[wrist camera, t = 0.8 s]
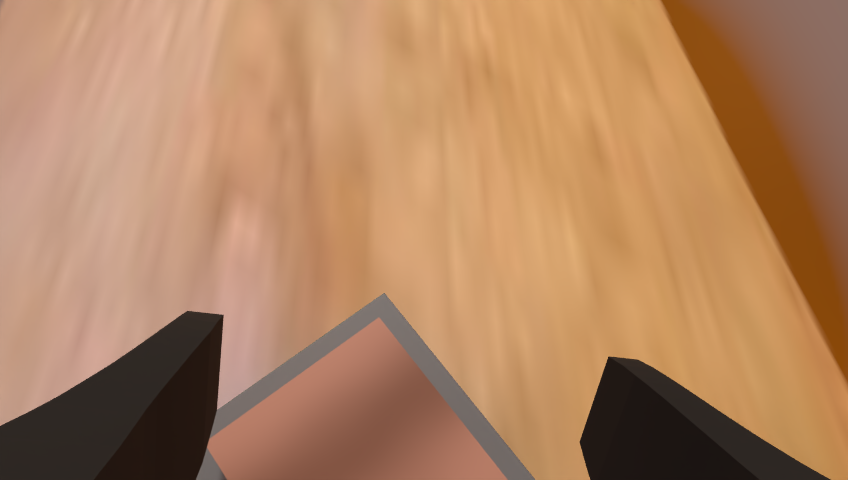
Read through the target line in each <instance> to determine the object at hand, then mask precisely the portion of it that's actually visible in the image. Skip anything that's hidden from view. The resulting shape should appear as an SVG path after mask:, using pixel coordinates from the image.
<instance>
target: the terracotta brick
mask: <svg viewBox="0 0 848 480" xmlns="http://www.w3.org/2000/svg"><path fill="white" fill-rule="evenodd" d="M207 448H208V450H209V452H210V453H211V455H212V456H213V458H214V460H215V461H216V463H217V464H218V466H219V467H220V469H221V471H222V472H223V474H224V475H225V477H226V479H227V480H508V479H507V478H506V477H505V476H504V474H503V473H502V472H501V471H500V469H499V468H498V467H497V465H496V464H495V463H494V462H493V460H492V459H491V458H490V457H489V455H488V454H487V453H486V452H485V450H484V449H483V448H482V447H481V445H480V444H479V443H478V441H477V440H476V439H475V438H474V436H473V435H472V434H471V433H470V431H469V430H468V429H467V428H466V426H465V425H464V424H463V422H462V421H461V420H460V419H459V417H458V416H457V415H456V414H455V412H454V411H453V410H452V409H451V407H450V406H449V405H448V404H447V402H446V401H445V400H444V398H443V397H442V396H441V395H440V393H439V392H438V391H437V390H436V388H435V387H434V386H433V385H432V383H431V382H430V381H429V380H428V378H427V377H426V376H425V374H424V373H423V372H422V371H421V369H420V368H419V367H418V366H417V364H416V363H415V362H414V361H413V359H412V358H411V357H410V356H409V354H408V353H407V352H406V350H405V349H404V348H403V347H402V345H401V344H400V343H399V342H398V340H397V339H396V338H395V337H394V335H393V334H392V333H391V332H390V330H389V329H388V328H387V326H386V325H385V324H384V323H383V321H382V320H381V319H380V318H377V319H376V320H374V321H373V322H372V323H370V324H369V325H367V326H366V327H365V328H363V329H362V330H360V331H359V332H358V333H356V334H355V335H354V336H352V337H351V338H349V339H348V340H347V341H345V342H344V343H342V344H341V345H340V346H338V347H337V348H335V349H334V350H333V351H331V352H330V353H328V354H327V355H326V356H324V357H323V358H321V359H320V360H319V361H317V362H316V363H314V364H313V365H312V366H310V367H309V368H307V369H306V370H305V371H303V372H302V373H300V374H299V375H298V376H296V377H295V378H294V379H292V380H291V381H289V382H288V383H287V384H285V385H284V386H282V387H281V388H280V389H278V390H277V391H275V392H274V393H273V394H271V395H270V396H268V397H267V398H266V399H264V400H263V401H261V402H260V403H259V404H257V405H256V406H254V407H253V408H252V409H250V410H249V411H247V412H246V413H245V414H243V415H242V416H240V417H239V418H238V419H236V420H235V421H234V422H232V423H231V424H229V425H228V426H227V427H225V428H224V429H222V430H221V431H220V432H218V433H217V434H215V435H214V436H213V437H211V438H210V439H209V442H208V446H207Z"/></svg>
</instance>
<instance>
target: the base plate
mask: <svg viewBox="0 0 848 480" xmlns="http://www.w3.org/2000/svg"><path fill="white" fill-rule="evenodd" d="M377 318H380V319H381V320H382V321H383V323H384V324H385V325H386V326H387V328H388V329H389V330H390V332H391V333H392V334H393V335H394V337H395V338H396V339H397V340H398V342H399V343H400V344H401V345H402V347H403V348H404V349H405V350H406V352H407V353H408V354H409V356H410V357H411V358H412V359H413V361H414V362H415V363H416V364H417V366H418V367H419V368H420V369H421V371H422V372H423V373H424V374H425V376H426V377H427V378H428V380H429V381H430V382H431V383H432V385H433V386H434V387H435V388H436V390H437V391H438V392H439V393H440V395H441V396H442V397H443V398H444V400H445V401H446V402H447V404H448V405H449V406H450V407H451V409H452V410H453V411H454V412H455V414H456V415H457V416H458V417H459V419H460V420H461V421H462V422H463V424H464V425H465V426H466V428H467V429H468V430H469V431H470V433H471V434H472V435H473V436H474V438H475V439H476V440H477V441H478V443H479V444H480V445H481V447H482V448H483V449H484V450H485V452H486V453H487V454H488V455H489V457H490V458H491V459H492V460H493V462H494V463H495V464H496V465H497V467H498V468H499V469H500V471H501V472H502V473H503V474H504V476H505V477H506V478H507V479H508V480H535V479H534V478H533V476H532V475H531V474H530V473H529V471H528V470H527V469H526V468H525V466H524V465H523V464H522V463H521V462H520V460H519V459H518V458H517V457H516V455H515V454H514V453H513V452H512V450H511V449H510V448H509V447H508V445H507V444H506V443H505V442H504V440H503V439H502V438H501V437H500V435H499V434H498V433H497V432H496V431H495V429H494V428H493V427H492V426H491V424H490V423H489V422H488V421H487V419H486V418H485V417H484V416H483V414H482V413H481V412H480V411H479V409H478V408H477V407H476V406H475V405H474V403H473V402H472V401H471V400H470V398H469V397H468V396H467V395H466V393H465V392H464V391H463V390H462V388H461V387H460V386H459V385H458V383H457V382H456V381H455V380H454V379H453V377H452V376H451V375H450V374H449V372H448V371H447V370H446V369H445V367H444V366H443V365H442V364H441V362H440V361H439V360H438V359H437V357H436V356H435V355H434V354H433V352H432V351H431V350H430V349H429V348H428V346H427V345H426V344H425V343H424V341H423V340H422V339H421V338H420V336H419V335H418V334H417V333H416V331H415V330H414V329H413V328H412V326H411V325H410V324H409V323H408V322H407V320H406V319H405V318H404V317H403V315H402V314H401V313H400V312H399V310H398V309H397V308H396V307H395V305H394V304H393V303H392V302H391V300H390V299H389V298H388V297H387V296H386V294H385V293H383V294H382V295H381V296H379V297H378V298H376V299H375V300H373V301H372V302H371V303H369V304H368V305H366V306H365V307H363V308H362V309H361V310H359V311H358V312H356V313H355V314H353V315H352V316H351V317H349V318H348V319H346V320H345V321H343V322H342V323H341V324H339V325H338V326H336V327H335V328H333V329H332V330H331V331H329V332H328V333H326V334H325V335H324V336H322V337H321V338H319V339H318V340H316V341H315V342H314V343H312V344H311V345H309V346H308V347H306V348H305V349H304V350H302V351H301V352H299V353H298V354H296V355H295V356H294V357H292V358H291V359H289V360H288V361H286V362H285V363H284V364H282V365H281V366H279V367H278V368H277V369H275V370H274V371H272V372H271V373H269V374H268V375H267V376H265V377H264V378H262V379H261V380H259V381H258V382H257V383H255V384H254V385H252V386H251V387H249V388H248V389H247V390H245V391H244V392H242V393H241V394H239V395H238V396H237V397H235V398H234V399H232V400H231V401H229V402H228V403H227V404H225V405H224V406H222V407H221V408H220V409H218V410H217V412H216V416H215V420H214V424H213V427H212V431H211V435H210V438H211V437H213V436H214V435H215V434H217V433H218V432H220V431H221V430H222V429H224V428H225V427H227V426H228V425H229V424H231V423H232V422H234V421H235V420H236V419H238V418H239V417H240V416H242V415H243V414H245V413H246V412H247V411H249V410H250V409H252V408H253V407H254V406H256V405H257V404H259V403H260V402H261V401H263V400H264V399H266V398H267V397H268V396H270V395H271V394H273V393H274V392H275V391H277V390H278V389H280V388H281V387H282V386H284V385H285V384H287V383H288V382H289V381H291V380H292V379H294V378H295V377H296V376H298V375H299V374H300V373H302V372H303V371H305V370H306V369H307V368H309V367H310V366H312V365H313V364H314V363H316V362H317V361H319V360H320V359H321V358H323V357H324V356H326V355H327V354H328V353H330V352H331V351H333V350H334V349H335V348H337V347H338V346H340V345H341V344H342V343H344V342H345V341H347V340H348V339H349V338H351V337H352V336H354V335H355V334H356V333H358V332H359V331H360V330H362V329H363V328H365V327H366V326H367V325H369V324H370V323H372V322H373V321H374V320H376V319H377ZM210 438H209V439H210ZM196 480H227V479H226V477H225V475H224V474H223V472H222V471H221V469H220V467H219V466H218V464H217V463H216V461H215V460H214V458H213V456H212V455H211V453H210V452H209V450H208V448H207V449H206V453H205V456H204V460H203V463H202V466H201V468H200V471H199V473H198V476H197V478H196Z"/></svg>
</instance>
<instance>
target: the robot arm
mask: <svg viewBox="0 0 848 480" xmlns="http://www.w3.org/2000/svg"><path fill="white" fill-rule="evenodd" d="M223 316H224V315H219V314H210V313H201V312H192V311H187V312H185V313H184V314H182V315H181V316H179V317H178V318H176V319H175V320H174V321H172V322H171V323H169V324H168V325H166V326H165V327H164V328H162V329H161V330H159V331H158V332H157V333H155V334H154V335H153V336H151V337H150V338H148V339H147V340H146V341H144V342H143V343H141V344H140V345H138V346H137V347H136V348H134V349H133V350H131V351H130V352H128V353H127V354H125V355H124V356H122V357H121V358H119V359H118V360H116V361H115V362H113V363H112V364H111V365H109V366H107V367H106V368H104V369H103V370H101V371H99V372H98V373H96V374H94V375H93V376H91V377H89V378H88V379H86V380H84V381H83V382H81V383H79V384H78V385H76V386H75V387H73V388H71V389H70V390H68V391H66V392H65V393H63V394H61V395H60V396H58V397H56V398H54V399H52V400H51V401H49V402H47V403H45V404H43V405H41V406H39V407H37V408H36V409H34V410H32V411H30V412H28V413H26V414H24V415H22V416H20V417H18V418H16V419H14V420H11V421H9V422H7V423H5V424H3V425H1V426H0V480H196V478H197V476H198V473H199V471H200V468H201V466H202V463H203V460H204V456H205V453H206V449H207V446H208V442H209V438H210V435H211V431H212V427H213V424H214V420H215V416H216V412H217V400H218V386H219V372H220V358H221V344H222V330H223ZM580 445H581V449H582V452H583V456H584V460H585V463H586V467H587V470H588V473H589V477H590V480H830V479H829V478H827V477H825V476H823V475H821V474H819V473H818V472H816V471H814V470H812V469H811V468H809V467H807V466H805V465H804V464H802V463H800V462H799V461H797V460H795V459H794V458H792V457H790V456H789V455H787V454H786V453H784V452H782V451H781V450H779V449H777V448H776V447H774V446H772V445H771V444H769V443H768V442H766V441H764V440H763V439H761V438H760V437H758V436H756V435H755V434H753V433H752V432H750V431H749V430H747V429H746V428H744V427H743V426H741V425H739V424H738V423H736V422H735V421H733V420H732V419H730V418H729V417H727V416H726V415H724V414H723V413H721V412H720V411H718V410H717V409H715V408H714V407H712V406H711V405H709V404H708V403H706V402H705V401H703V400H702V399H701V398H699V397H698V396H696V395H695V394H693V393H692V392H690V391H689V390H687V389H686V388H684V387H683V386H681V385H680V384H678V383H677V382H675V381H673V380H672V379H670V378H669V377H667V376H666V375H664V374H663V373H661V372H659V371H658V370H656V369H654V368H653V367H651V366H649V365H647V364H645V363H643V362H641V361H639V360H636V359H626V358H617V357H608V360H607V363H606V366H605V369H604V371H603V374H602V377H601V380H600V383H599V386H598V389H597V392H596V395H595V398H594V401H593V404H592V407H591V410H590V413H589V416H588V419H587V422H586V425H585V428H584V431H583V434H582V437H581V440H580Z"/></svg>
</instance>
